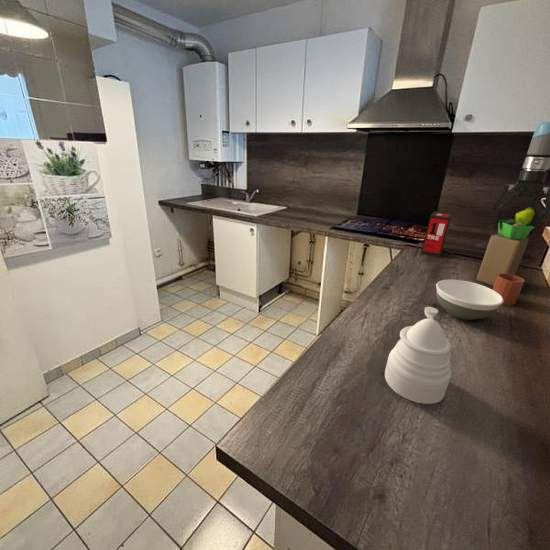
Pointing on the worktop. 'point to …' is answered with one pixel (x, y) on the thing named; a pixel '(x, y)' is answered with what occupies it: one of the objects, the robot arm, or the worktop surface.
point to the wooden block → (501, 257)
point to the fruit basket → (517, 225)
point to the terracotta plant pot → (508, 287)
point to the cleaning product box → (436, 233)
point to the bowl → (467, 299)
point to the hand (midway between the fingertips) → (512, 231)
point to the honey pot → (420, 362)
